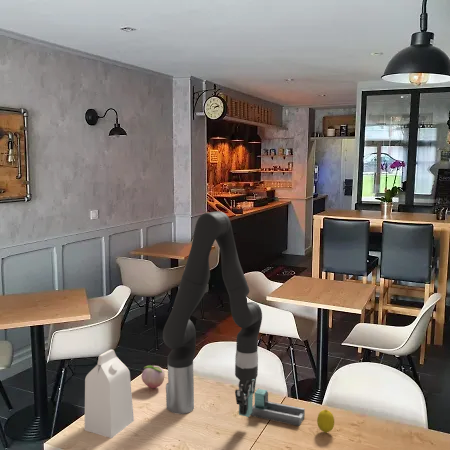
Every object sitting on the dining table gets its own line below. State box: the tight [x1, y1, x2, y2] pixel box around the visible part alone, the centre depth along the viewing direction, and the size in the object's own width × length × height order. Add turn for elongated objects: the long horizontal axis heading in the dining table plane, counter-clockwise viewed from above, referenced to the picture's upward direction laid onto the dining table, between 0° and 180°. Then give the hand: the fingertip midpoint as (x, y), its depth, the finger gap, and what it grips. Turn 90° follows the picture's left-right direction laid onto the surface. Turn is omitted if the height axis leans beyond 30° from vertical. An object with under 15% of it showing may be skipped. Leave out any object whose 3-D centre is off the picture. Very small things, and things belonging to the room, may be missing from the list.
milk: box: [84, 349, 135, 439], centre depth 165 cm, size 12×12×26 cm
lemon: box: [316, 409, 335, 434], centre depth 160 cm, size 6×6×8 cm
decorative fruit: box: [141, 365, 166, 389], centre depth 193 cm, size 9×8×10 cm
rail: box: [249, 388, 306, 427], centre depth 171 cm, size 18×7×8 cm, turn 66°
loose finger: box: [238, 393, 254, 418], centre depth 163 cm, size 4×4×7 cm
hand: (245, 410), depth 164 cm, fingers closed on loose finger, 4 cm apart
